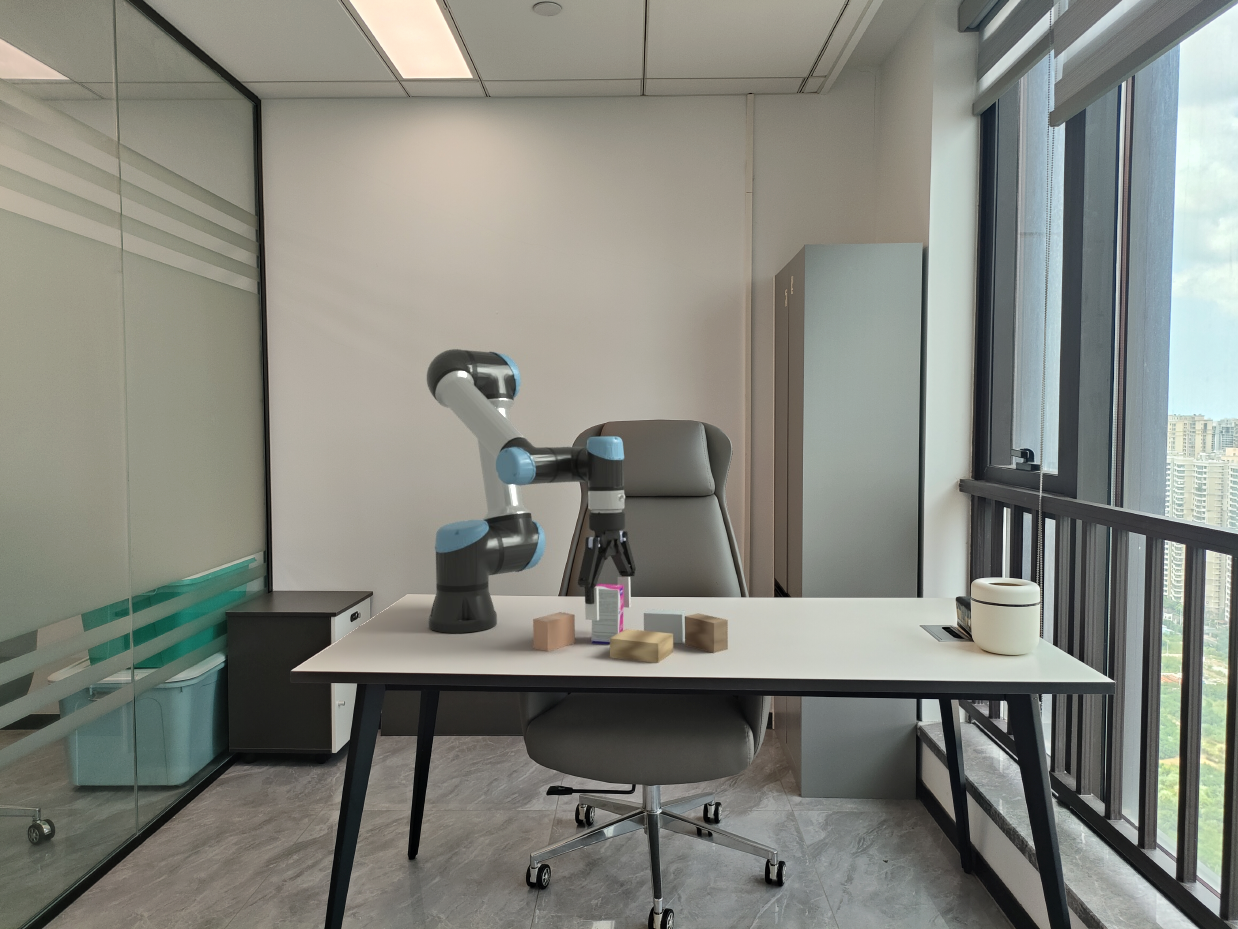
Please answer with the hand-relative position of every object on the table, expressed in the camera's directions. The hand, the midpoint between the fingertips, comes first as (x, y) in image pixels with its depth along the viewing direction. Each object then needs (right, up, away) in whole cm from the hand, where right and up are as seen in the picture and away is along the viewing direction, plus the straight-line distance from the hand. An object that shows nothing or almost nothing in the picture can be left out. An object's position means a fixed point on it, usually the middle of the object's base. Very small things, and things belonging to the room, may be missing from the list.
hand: (609, 613), depth 162 cm
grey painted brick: (+12, -6, +1) cm, 13 cm away
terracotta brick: (-11, -6, -3) cm, 13 cm away
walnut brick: (+20, -6, -5) cm, 21 cm away
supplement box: (0, -6, +1) cm, 6 cm away
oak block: (+7, -7, -10) cm, 14 cm away
